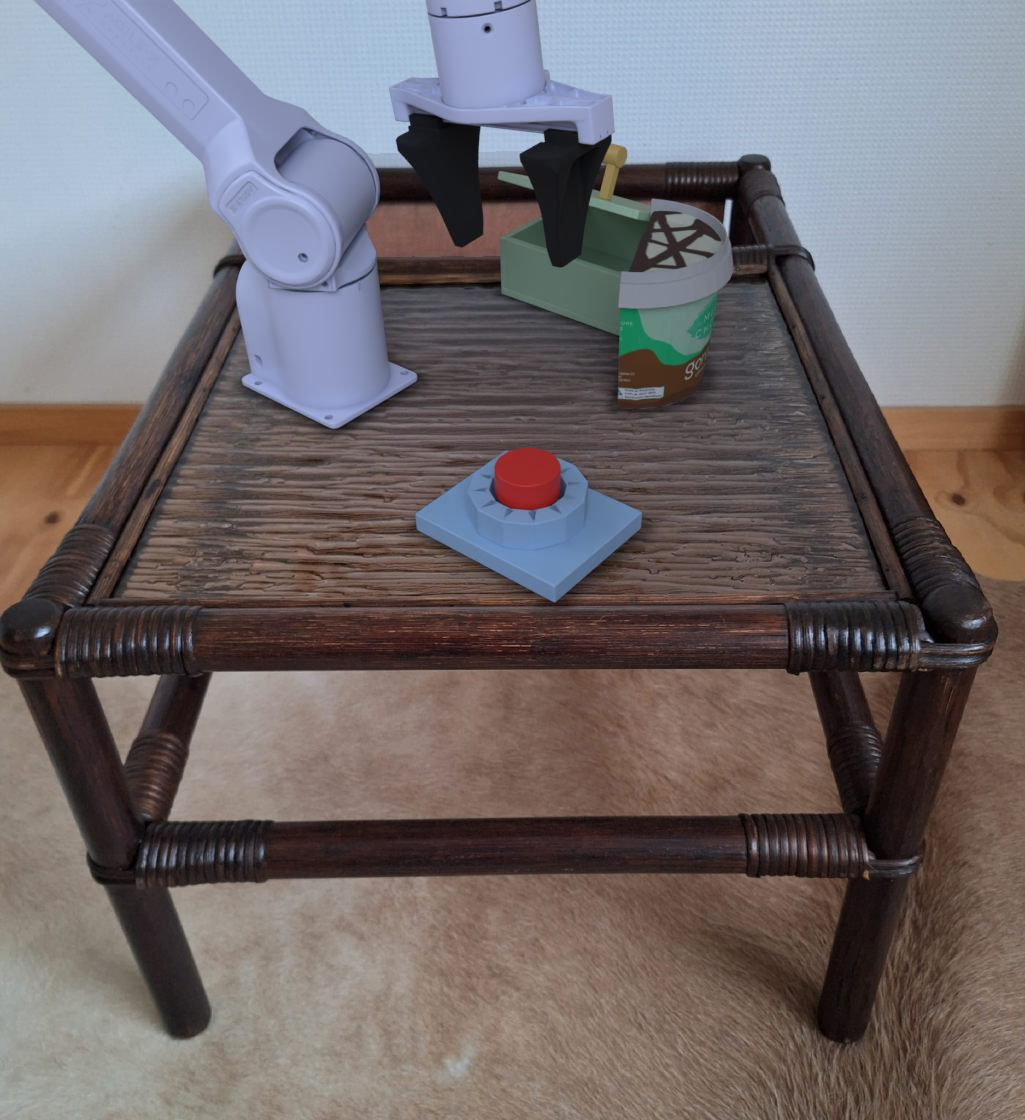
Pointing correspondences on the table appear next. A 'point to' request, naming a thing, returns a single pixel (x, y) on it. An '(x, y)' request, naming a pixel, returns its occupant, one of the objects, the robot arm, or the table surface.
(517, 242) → the chest
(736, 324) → the table surface
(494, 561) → the switch block
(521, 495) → the button
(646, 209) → the lid
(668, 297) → the food container
